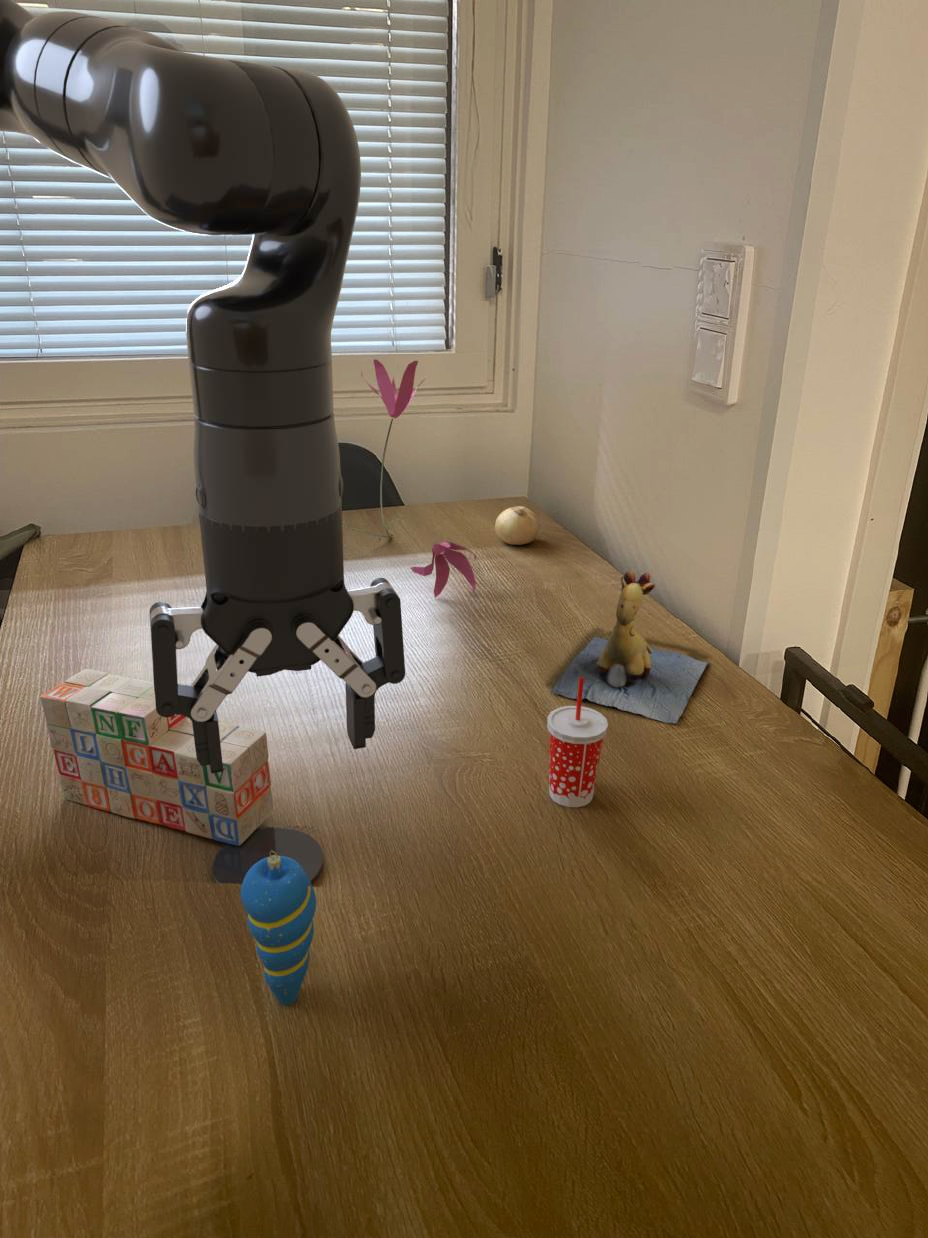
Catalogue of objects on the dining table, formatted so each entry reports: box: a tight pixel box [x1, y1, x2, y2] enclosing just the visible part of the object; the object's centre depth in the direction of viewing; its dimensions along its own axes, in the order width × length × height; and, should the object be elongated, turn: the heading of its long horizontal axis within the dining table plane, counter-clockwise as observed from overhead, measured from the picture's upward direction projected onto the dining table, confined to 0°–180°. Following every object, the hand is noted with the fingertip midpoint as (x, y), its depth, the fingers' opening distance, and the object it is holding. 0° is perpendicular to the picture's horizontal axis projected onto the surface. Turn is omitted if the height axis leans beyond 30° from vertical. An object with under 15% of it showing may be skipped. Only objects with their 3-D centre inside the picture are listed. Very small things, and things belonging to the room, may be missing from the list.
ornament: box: [240, 851, 317, 1006], centre depth 67 cm, size 5×5×15 cm
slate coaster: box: [212, 826, 324, 885], centre depth 84 cm, size 10×10×1 cm
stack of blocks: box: [39, 668, 274, 846], centre depth 89 cm, size 21×6×12 cm, turn 69°
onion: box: [494, 505, 540, 546], centre depth 163 cm, size 8×8×7 cm
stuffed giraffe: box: [550, 570, 709, 724], centre depth 116 cm, size 16×18×16 cm
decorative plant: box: [342, 359, 477, 599], centre depth 149 cm, size 38×42×30 cm
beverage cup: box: [546, 676, 609, 808], centre depth 93 cm, size 6×6×14 cm
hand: (287, 753), depth 55 cm, fingers open, 8 cm apart
